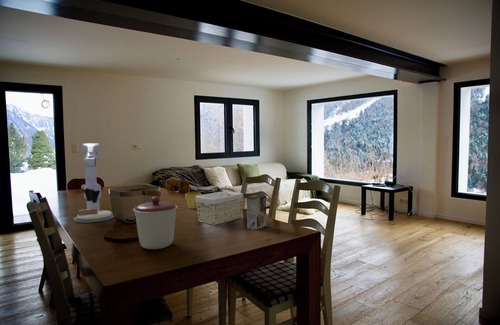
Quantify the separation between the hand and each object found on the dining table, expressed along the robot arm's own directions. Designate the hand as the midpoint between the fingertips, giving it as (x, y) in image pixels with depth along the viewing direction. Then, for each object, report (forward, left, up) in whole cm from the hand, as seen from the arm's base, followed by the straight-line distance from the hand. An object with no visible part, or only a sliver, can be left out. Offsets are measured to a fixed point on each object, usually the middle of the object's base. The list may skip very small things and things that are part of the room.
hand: (91, 201), depth 190 cm
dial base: (-1, +1, -10) cm, 10 cm away
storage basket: (+42, +61, -10) cm, 75 cm away
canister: (+70, +18, -10) cm, 73 cm away
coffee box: (+67, +70, -10) cm, 98 cm away
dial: (-1, +1, -9) cm, 9 cm away
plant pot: (+1, +61, -10) cm, 62 cm away
